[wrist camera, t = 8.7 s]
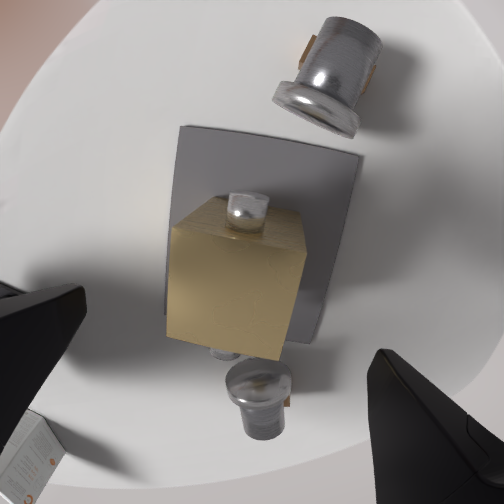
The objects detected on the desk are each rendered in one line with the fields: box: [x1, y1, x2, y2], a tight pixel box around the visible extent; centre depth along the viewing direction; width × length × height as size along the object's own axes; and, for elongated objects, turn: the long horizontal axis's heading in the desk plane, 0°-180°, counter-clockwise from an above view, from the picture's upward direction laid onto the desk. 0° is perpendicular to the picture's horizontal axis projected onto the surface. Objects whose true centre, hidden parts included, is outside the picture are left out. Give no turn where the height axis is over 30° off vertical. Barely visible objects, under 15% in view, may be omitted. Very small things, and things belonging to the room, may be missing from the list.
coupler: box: [166, 190, 307, 361], centre depth 13 cm, size 4×7×6 cm, turn 171°
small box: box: [0, 409, 66, 504], centre depth 22 cm, size 8×6×13 cm
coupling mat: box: [164, 126, 359, 344], centre depth 16 cm, size 9×11×1 cm
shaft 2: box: [272, 17, 383, 139], centre depth 11 cm, size 4×4×5 cm
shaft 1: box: [225, 357, 292, 440], centre depth 17 cm, size 4×4×5 cm
